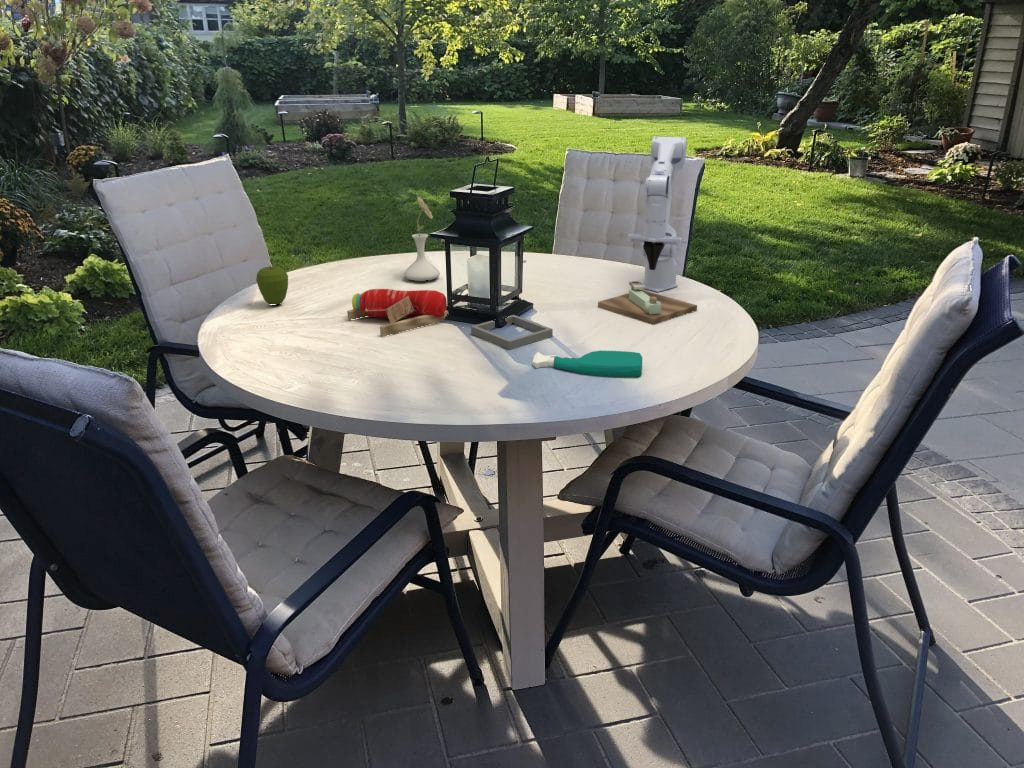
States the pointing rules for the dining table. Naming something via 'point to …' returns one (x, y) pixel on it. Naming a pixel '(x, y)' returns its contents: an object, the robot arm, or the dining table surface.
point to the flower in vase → (421, 254)
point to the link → (644, 302)
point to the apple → (272, 284)
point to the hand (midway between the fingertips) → (652, 269)
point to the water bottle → (400, 303)
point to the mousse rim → (539, 334)
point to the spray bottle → (596, 363)
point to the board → (630, 309)
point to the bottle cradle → (400, 322)
